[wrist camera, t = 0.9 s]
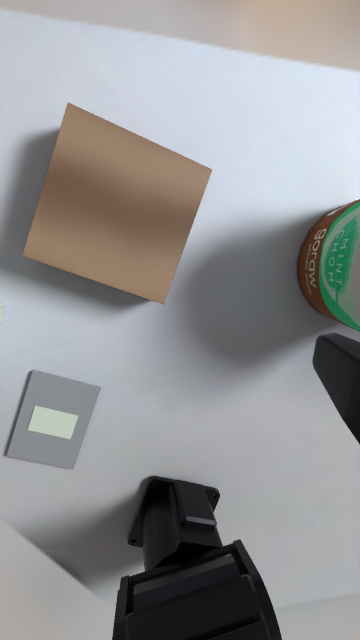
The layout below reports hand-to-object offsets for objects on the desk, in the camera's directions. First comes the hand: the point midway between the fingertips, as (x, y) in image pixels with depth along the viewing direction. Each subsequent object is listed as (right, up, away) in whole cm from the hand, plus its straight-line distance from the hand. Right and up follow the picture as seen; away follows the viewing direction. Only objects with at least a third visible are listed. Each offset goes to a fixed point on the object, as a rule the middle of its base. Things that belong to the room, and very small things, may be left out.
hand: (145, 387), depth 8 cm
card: (-9, -6, +17) cm, 20 cm away
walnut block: (-3, +9, +15) cm, 18 cm away
